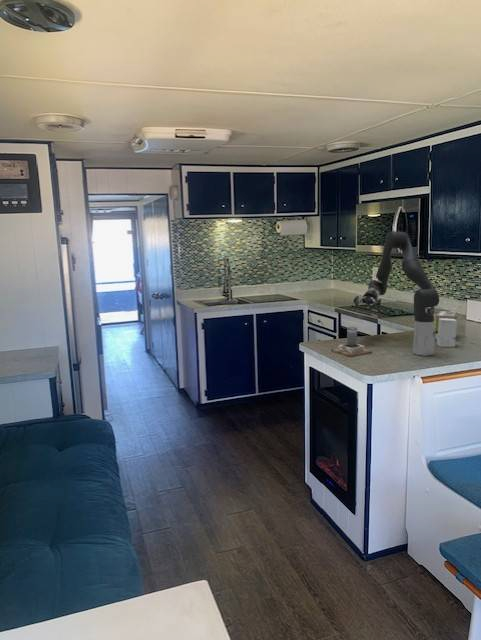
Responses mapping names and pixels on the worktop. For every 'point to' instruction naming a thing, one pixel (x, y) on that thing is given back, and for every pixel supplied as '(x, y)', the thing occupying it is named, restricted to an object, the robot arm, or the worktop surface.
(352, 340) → the dark grey cylinder
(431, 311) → the coffee box
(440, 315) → the tea box
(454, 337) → the skincare box
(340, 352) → the mount board
